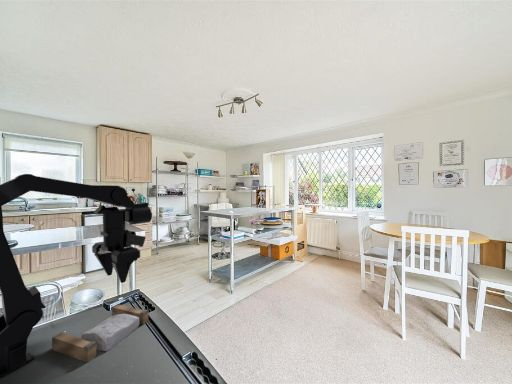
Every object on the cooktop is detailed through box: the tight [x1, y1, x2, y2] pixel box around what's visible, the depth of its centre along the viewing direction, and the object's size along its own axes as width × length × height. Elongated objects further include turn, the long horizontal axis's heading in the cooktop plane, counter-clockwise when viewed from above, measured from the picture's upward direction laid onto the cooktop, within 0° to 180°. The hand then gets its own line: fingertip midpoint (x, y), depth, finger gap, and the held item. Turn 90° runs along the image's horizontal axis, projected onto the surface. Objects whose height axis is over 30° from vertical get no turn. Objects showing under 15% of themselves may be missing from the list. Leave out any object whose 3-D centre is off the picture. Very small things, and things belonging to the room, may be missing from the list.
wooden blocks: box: [51, 303, 150, 364], centre depth 62 cm, size 12×18×3 cm
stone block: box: [80, 314, 140, 352], centre depth 61 cm, size 12×5×10 cm
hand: (116, 278), depth 67 cm, fingers open, 9 cm apart
